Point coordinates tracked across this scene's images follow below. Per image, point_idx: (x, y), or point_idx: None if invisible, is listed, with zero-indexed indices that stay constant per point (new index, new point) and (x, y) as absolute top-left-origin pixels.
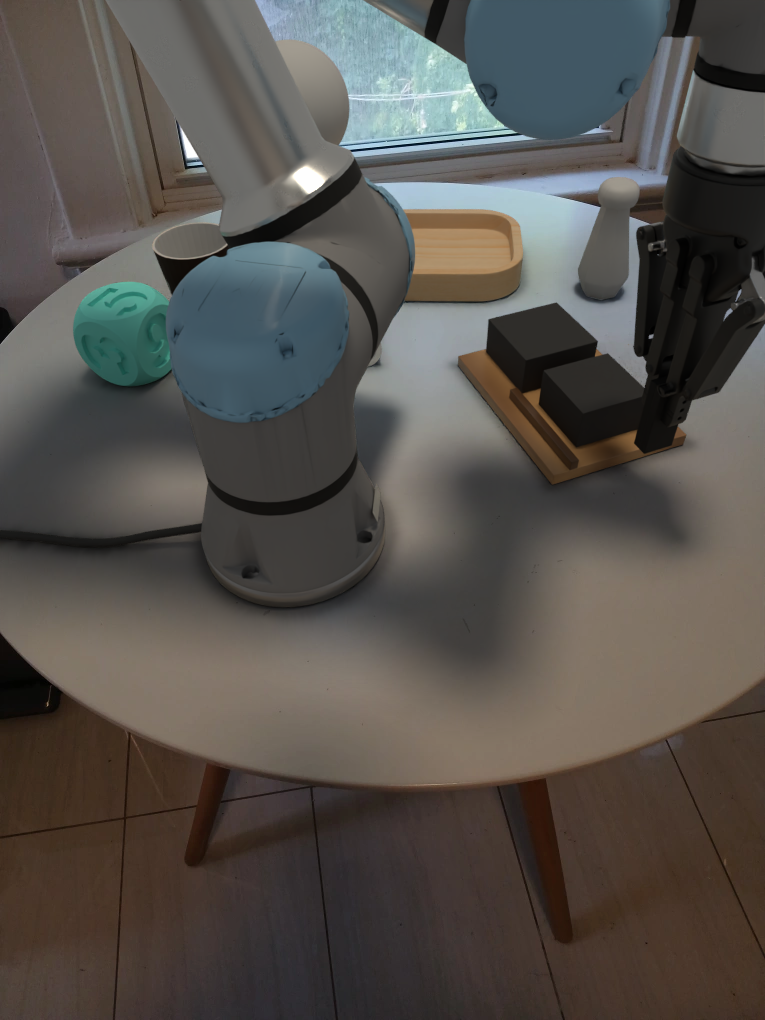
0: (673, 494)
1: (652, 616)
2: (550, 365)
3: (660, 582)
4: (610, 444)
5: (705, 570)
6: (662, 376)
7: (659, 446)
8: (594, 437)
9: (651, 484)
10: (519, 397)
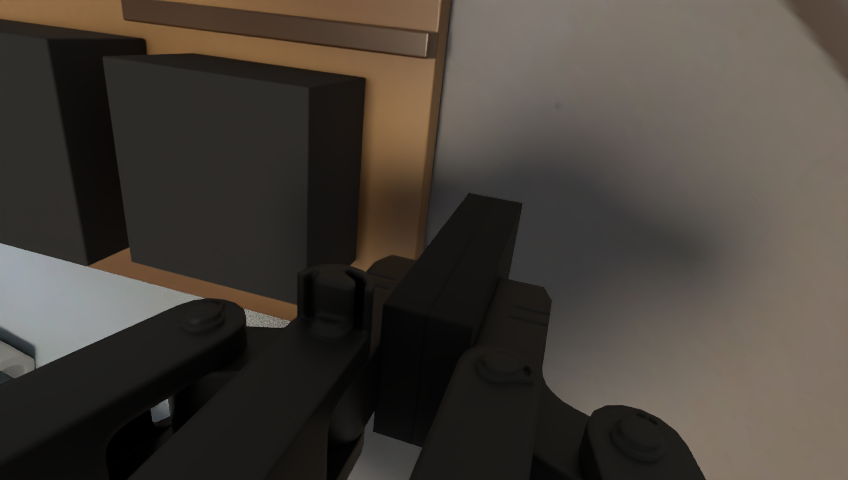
0: (579, 150)
1: (805, 442)
2: (108, 184)
3: (755, 370)
4: (380, 189)
5: (810, 275)
6: (377, 393)
7: (512, 250)
8: (351, 222)
9: (522, 169)
10: None
